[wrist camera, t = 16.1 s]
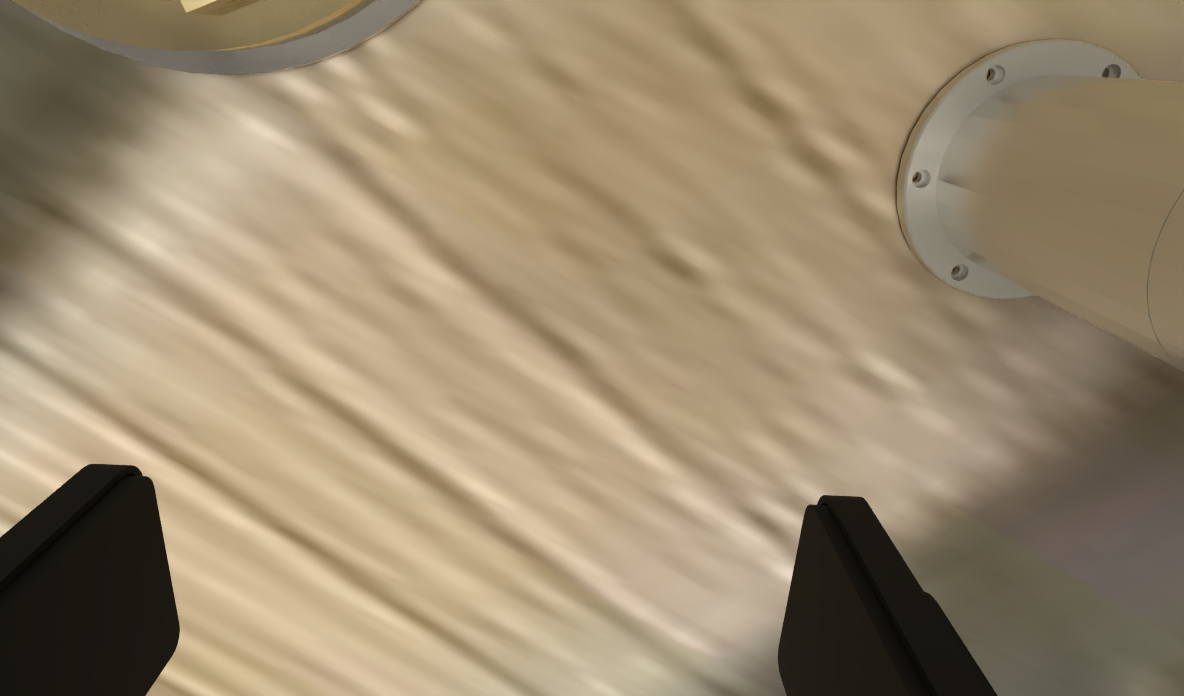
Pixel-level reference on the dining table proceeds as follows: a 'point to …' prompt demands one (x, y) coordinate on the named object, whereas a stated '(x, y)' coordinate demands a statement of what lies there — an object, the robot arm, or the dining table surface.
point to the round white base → (308, 50)
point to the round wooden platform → (198, 21)
